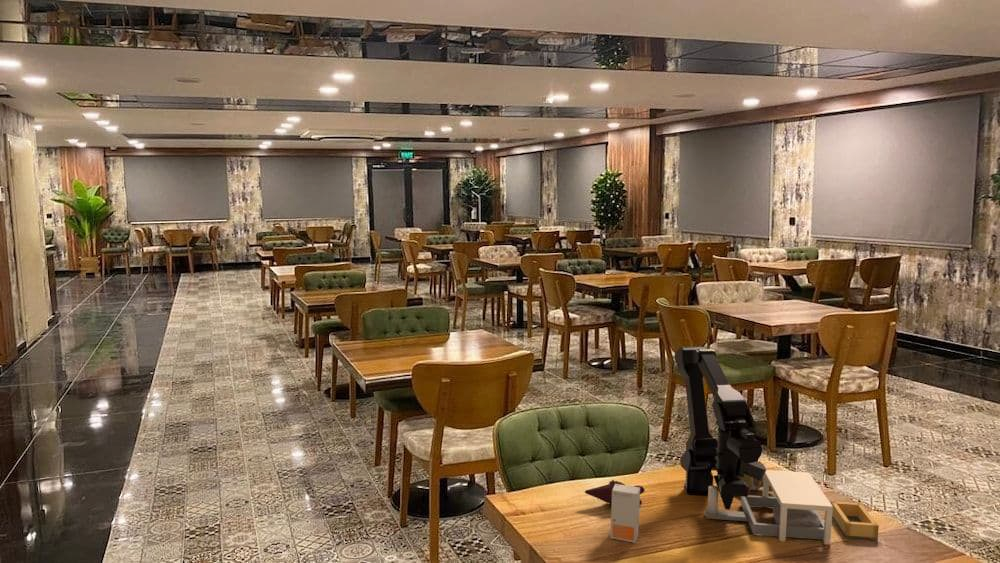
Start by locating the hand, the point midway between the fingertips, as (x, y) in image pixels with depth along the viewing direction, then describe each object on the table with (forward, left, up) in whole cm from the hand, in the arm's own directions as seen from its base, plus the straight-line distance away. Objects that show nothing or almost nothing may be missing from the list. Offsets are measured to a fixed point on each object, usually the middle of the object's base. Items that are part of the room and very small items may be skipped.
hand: (727, 508), depth 175 cm
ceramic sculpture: (+9, +20, -3) cm, 22 cm away
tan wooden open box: (+29, 0, -3) cm, 29 cm away
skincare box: (-25, -14, -3) cm, 29 cm away
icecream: (-28, +3, -3) cm, 28 cm away
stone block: (+16, 0, -3) cm, 16 cm away
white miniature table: (+16, 0, -3) cm, 16 cm away
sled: (+8, 0, -2) cm, 8 cm away
